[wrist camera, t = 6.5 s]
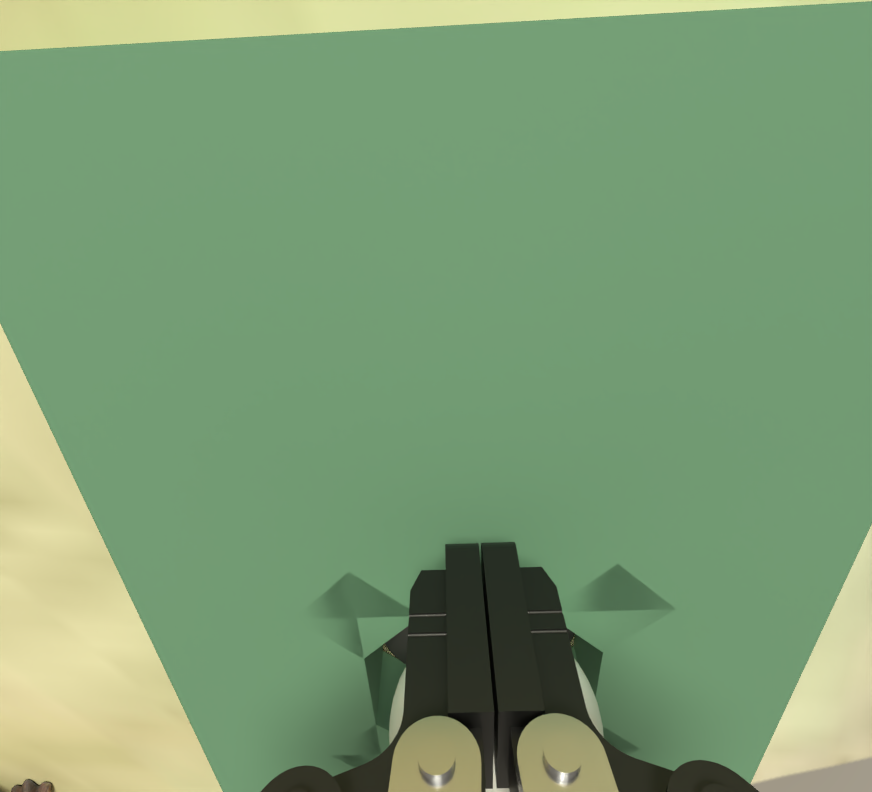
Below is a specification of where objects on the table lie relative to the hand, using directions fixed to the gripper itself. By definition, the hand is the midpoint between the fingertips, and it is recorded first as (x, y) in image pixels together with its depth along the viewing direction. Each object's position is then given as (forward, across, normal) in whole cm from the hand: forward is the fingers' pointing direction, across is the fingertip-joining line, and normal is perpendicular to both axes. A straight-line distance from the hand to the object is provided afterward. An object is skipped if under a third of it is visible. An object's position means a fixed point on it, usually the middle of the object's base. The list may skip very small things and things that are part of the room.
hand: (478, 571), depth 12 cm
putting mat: (+4, 0, +1) cm, 4 cm away
